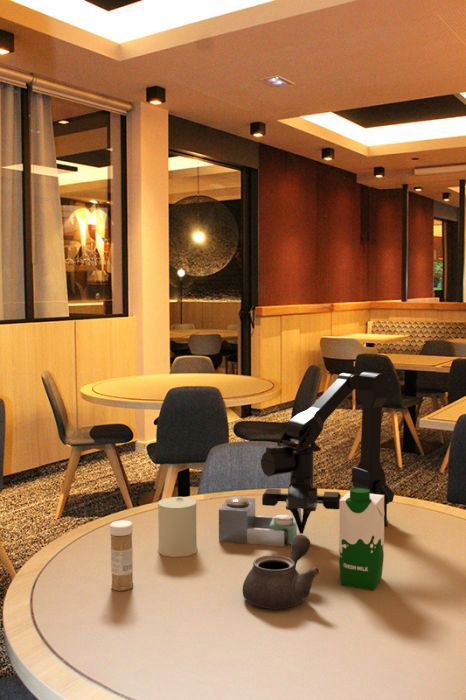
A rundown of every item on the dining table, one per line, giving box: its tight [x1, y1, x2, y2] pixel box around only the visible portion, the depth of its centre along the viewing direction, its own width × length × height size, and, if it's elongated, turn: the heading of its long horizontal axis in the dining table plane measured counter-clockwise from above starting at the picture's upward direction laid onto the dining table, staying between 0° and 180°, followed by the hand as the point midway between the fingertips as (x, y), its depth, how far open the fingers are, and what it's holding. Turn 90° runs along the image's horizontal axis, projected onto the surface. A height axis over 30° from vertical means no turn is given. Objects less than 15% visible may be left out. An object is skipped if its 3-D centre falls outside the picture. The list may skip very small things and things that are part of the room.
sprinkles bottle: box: [109, 520, 134, 592], centre depth 146 cm, size 5×5×13 cm
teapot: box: [241, 534, 321, 610], centre depth 142 cm, size 19×15×10 cm
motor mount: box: [218, 496, 289, 547], centre depth 176 cm, size 17×11×9 cm, turn 78°
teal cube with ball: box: [269, 514, 298, 544], centre depth 175 cm, size 6×6×5 cm
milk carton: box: [338, 487, 385, 591], centre depth 148 cm, size 9×9×20 cm
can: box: [157, 496, 198, 558], centre depth 167 cm, size 9×9×12 cm
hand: (301, 533), depth 174 cm, fingers closed
